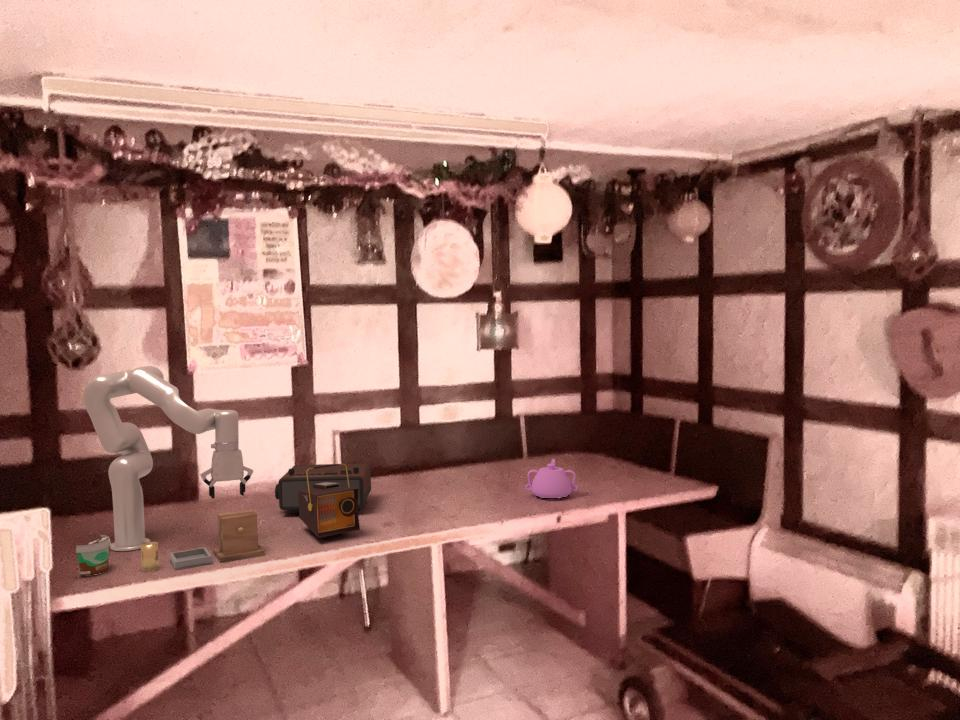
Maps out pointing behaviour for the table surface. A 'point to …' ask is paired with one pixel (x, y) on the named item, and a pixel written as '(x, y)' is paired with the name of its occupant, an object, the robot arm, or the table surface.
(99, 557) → the food container
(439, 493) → the table surface
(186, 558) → the tray
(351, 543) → the table surface
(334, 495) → the vintage portable radio
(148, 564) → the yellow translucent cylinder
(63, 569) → the table surface
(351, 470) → the radio receiver
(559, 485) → the purple lidded pot
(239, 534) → the mounted unit
